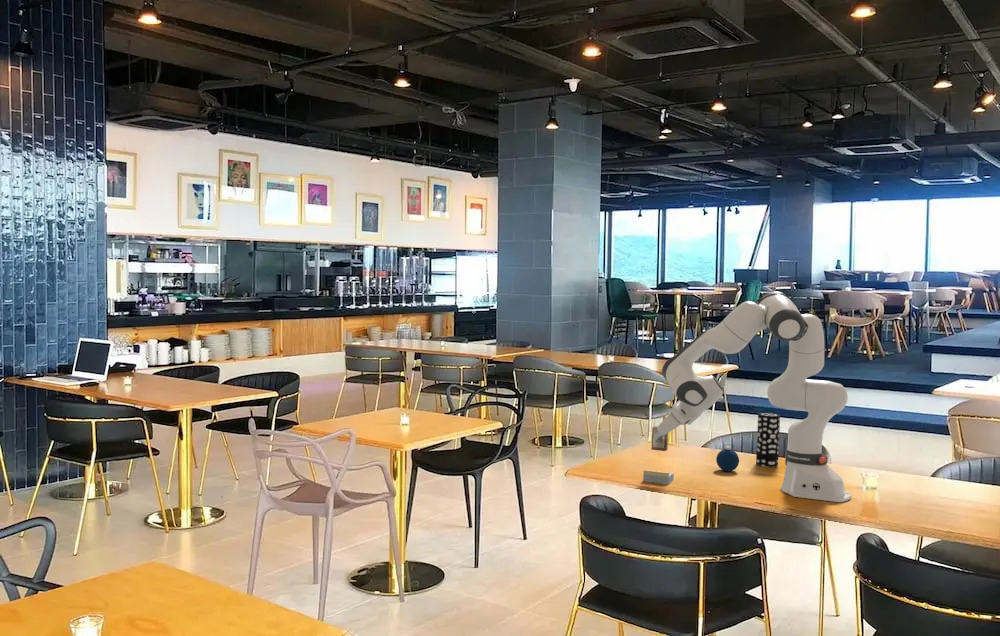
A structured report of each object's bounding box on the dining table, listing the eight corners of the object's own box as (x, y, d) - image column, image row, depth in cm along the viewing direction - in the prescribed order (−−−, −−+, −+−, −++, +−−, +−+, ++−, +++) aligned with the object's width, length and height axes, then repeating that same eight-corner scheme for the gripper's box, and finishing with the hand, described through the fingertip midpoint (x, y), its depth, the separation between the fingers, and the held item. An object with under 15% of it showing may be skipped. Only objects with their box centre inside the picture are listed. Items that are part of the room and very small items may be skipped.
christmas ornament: (736, 469, 323) (737, 443, 322) (740, 474, 314) (741, 447, 314) (714, 468, 324) (715, 442, 323) (717, 472, 315) (718, 446, 315)
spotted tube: (773, 468, 326) (775, 417, 326) (752, 464, 331) (754, 414, 331) (781, 464, 333) (783, 414, 332) (760, 461, 338) (762, 412, 337)
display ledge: (673, 479, 302) (673, 468, 301) (668, 484, 294) (668, 473, 294) (648, 476, 305) (649, 466, 305) (643, 481, 298) (643, 470, 298)
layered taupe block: (667, 449, 300) (668, 427, 299) (665, 451, 297) (666, 428, 296) (653, 448, 302) (654, 426, 301) (651, 449, 299) (652, 427, 298)
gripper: (685, 401, 305) (657, 425, 310) (672, 408, 287) (643, 434, 291) (696, 415, 304) (669, 439, 308) (684, 422, 285) (655, 448, 290)
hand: (656, 436), depth 300 cm, fingers closed on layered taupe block, 3 cm apart
